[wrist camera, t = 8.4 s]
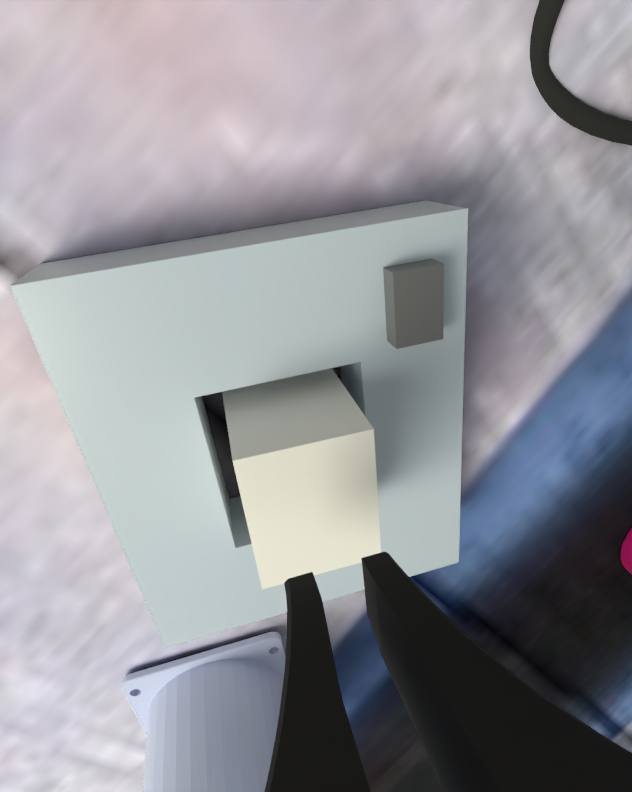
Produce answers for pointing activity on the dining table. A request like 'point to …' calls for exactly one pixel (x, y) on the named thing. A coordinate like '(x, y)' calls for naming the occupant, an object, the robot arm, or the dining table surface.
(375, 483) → the cream rectangular block
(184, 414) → the socket plate
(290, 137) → the dining table surface
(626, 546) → the pepper mill
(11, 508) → the dining table surface
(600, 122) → the cable
